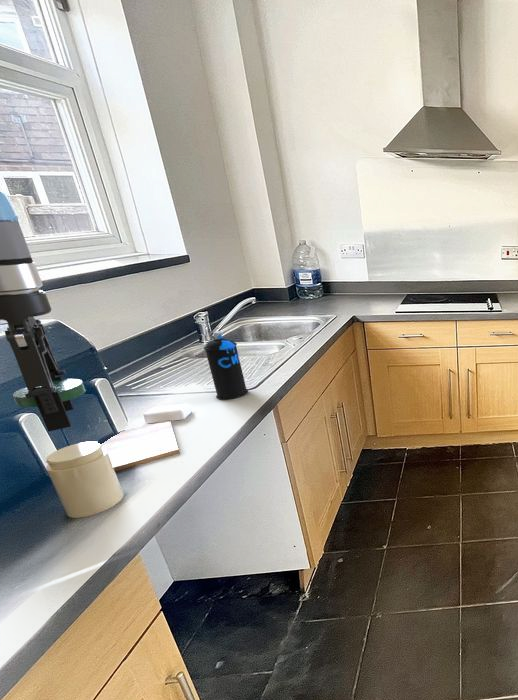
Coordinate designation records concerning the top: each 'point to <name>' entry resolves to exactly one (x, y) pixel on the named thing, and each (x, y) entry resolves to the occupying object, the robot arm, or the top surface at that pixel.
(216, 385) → the aerosol can
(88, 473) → the jar
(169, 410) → the soap
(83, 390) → the lid
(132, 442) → the white flat board
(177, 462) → the top surface
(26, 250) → the robot arm
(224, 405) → the top surface
